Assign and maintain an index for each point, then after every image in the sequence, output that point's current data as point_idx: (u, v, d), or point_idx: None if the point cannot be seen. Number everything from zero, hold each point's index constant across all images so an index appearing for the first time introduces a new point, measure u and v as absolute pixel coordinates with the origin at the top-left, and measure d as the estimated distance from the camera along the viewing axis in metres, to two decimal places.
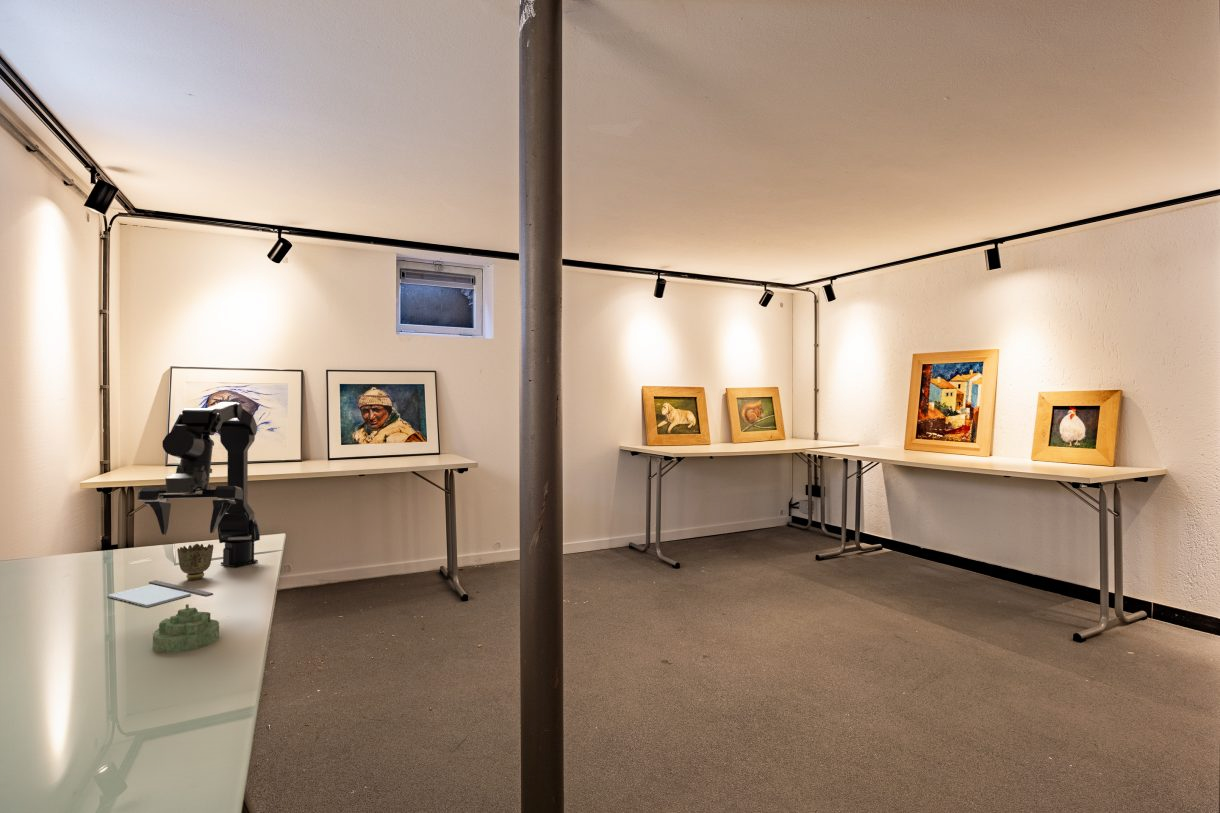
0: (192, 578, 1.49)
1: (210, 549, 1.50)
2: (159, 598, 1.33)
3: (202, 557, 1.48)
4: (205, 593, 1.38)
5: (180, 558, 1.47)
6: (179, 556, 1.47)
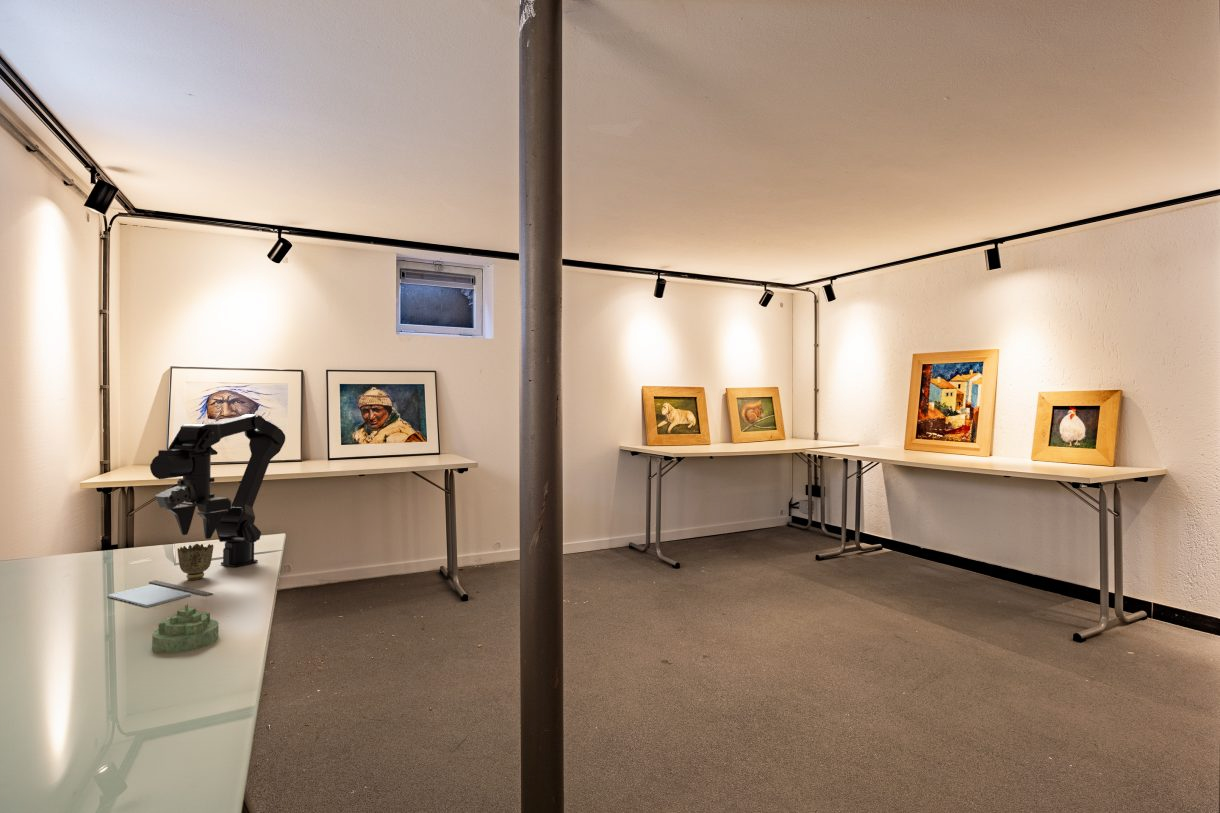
0: (192, 578, 1.49)
1: (210, 549, 1.50)
2: (159, 598, 1.33)
3: (202, 557, 1.48)
4: (205, 593, 1.38)
5: (180, 558, 1.47)
6: (179, 556, 1.47)
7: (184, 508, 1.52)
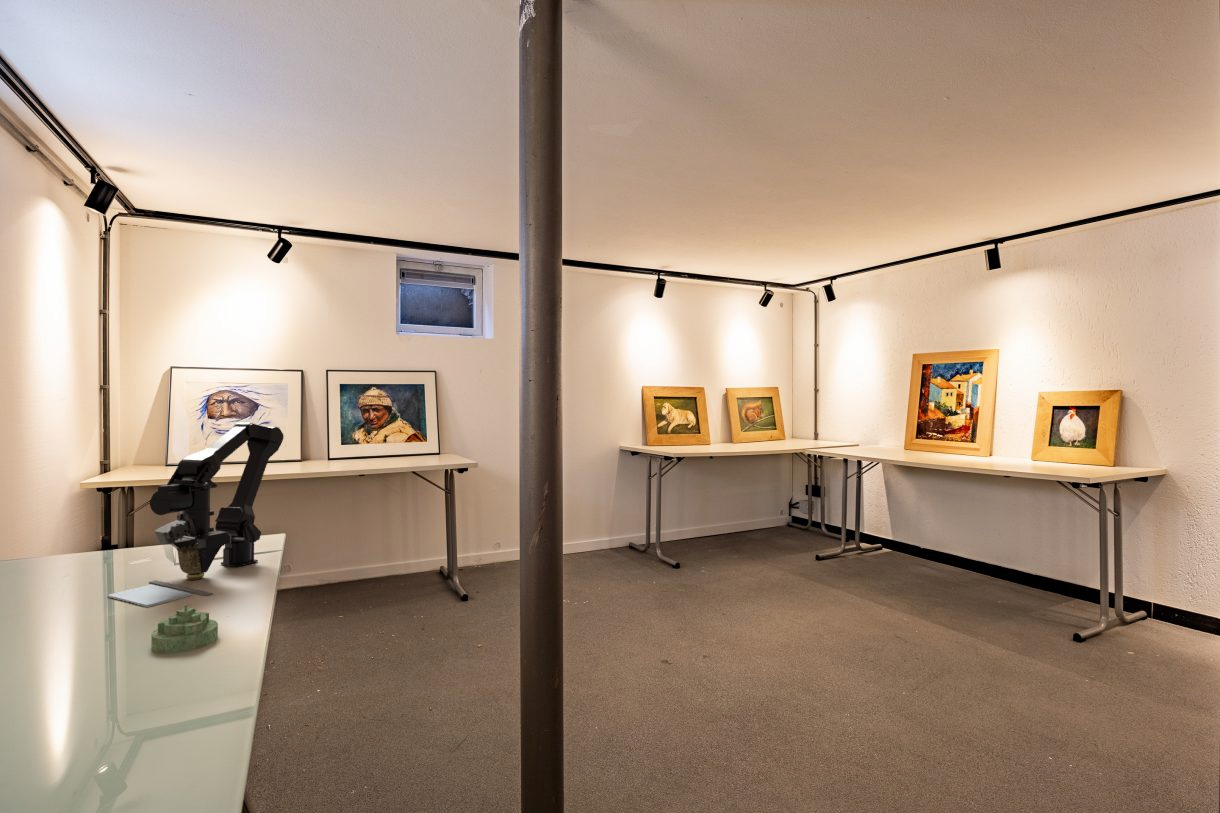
0: (192, 578, 1.49)
1: None
2: (159, 598, 1.33)
3: None
4: (205, 593, 1.38)
5: (180, 558, 1.47)
6: (179, 556, 1.47)
7: (186, 542, 1.52)
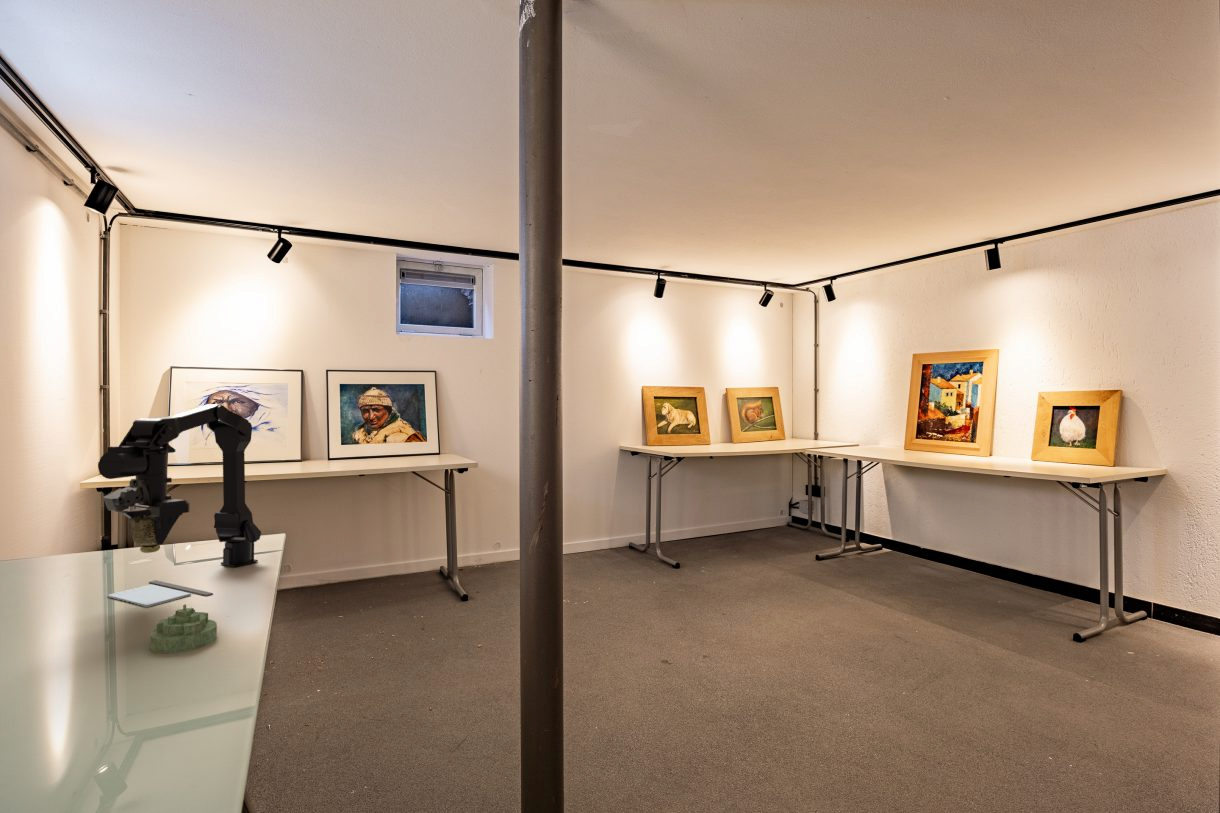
0: (146, 551, 1.35)
1: None
2: (159, 598, 1.33)
3: None
4: (205, 593, 1.38)
5: (132, 528, 1.33)
6: (131, 526, 1.33)
7: (141, 512, 1.38)
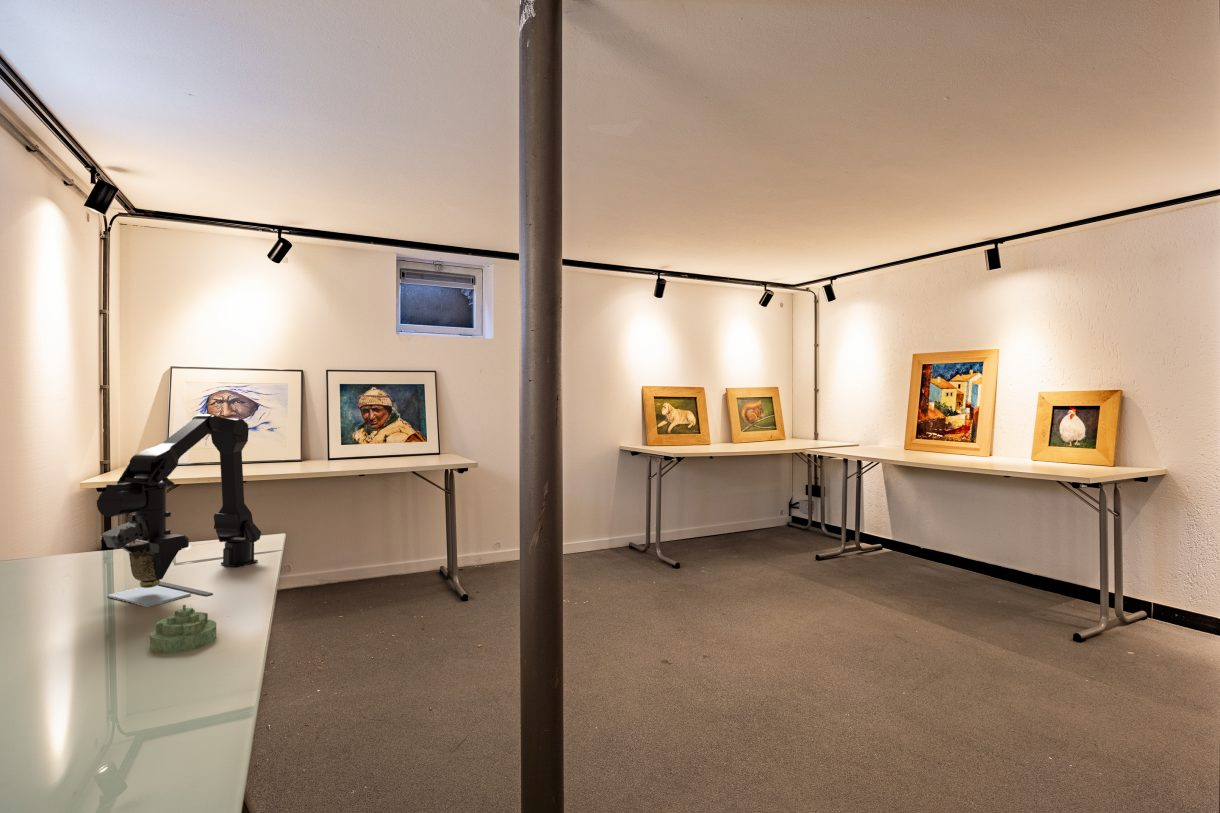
0: (146, 586, 1.35)
1: None
2: (159, 598, 1.33)
3: None
4: (205, 593, 1.38)
5: (132, 564, 1.33)
6: (131, 562, 1.33)
7: (140, 546, 1.38)
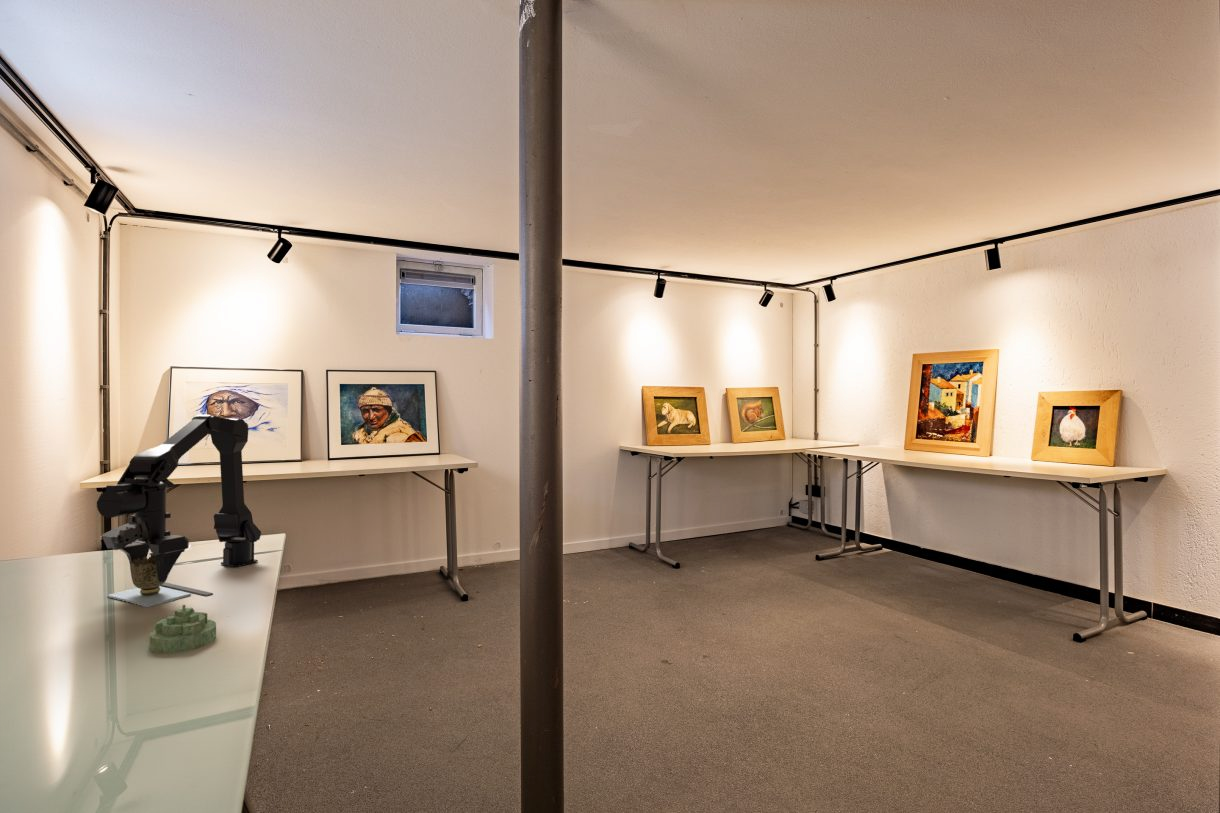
0: (146, 594, 1.35)
1: None
2: (159, 598, 1.33)
3: None
4: (205, 593, 1.38)
5: (132, 572, 1.33)
6: (131, 569, 1.33)
7: (137, 546, 1.39)
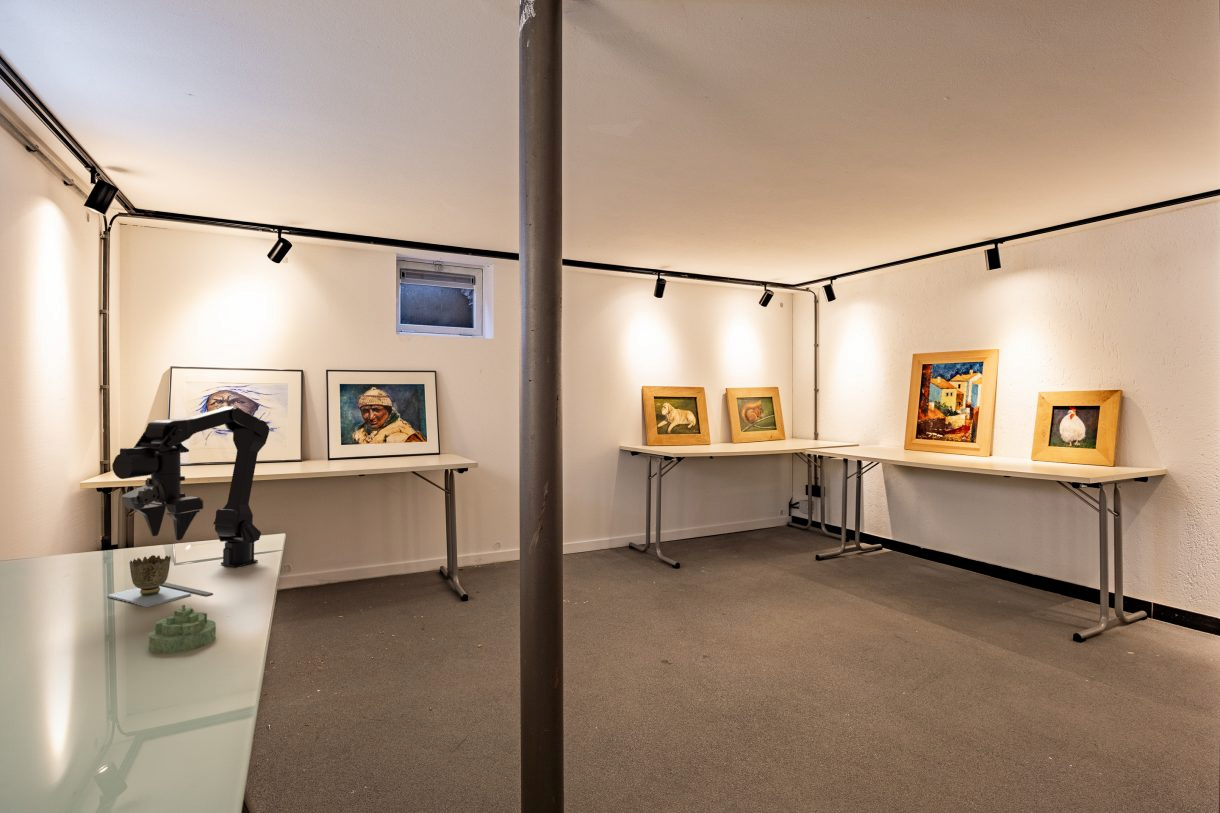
0: (146, 594, 1.35)
1: (166, 561, 1.36)
2: (159, 598, 1.33)
3: (157, 571, 1.34)
4: (205, 593, 1.38)
5: (132, 572, 1.33)
6: (131, 569, 1.33)
7: (154, 508, 1.46)
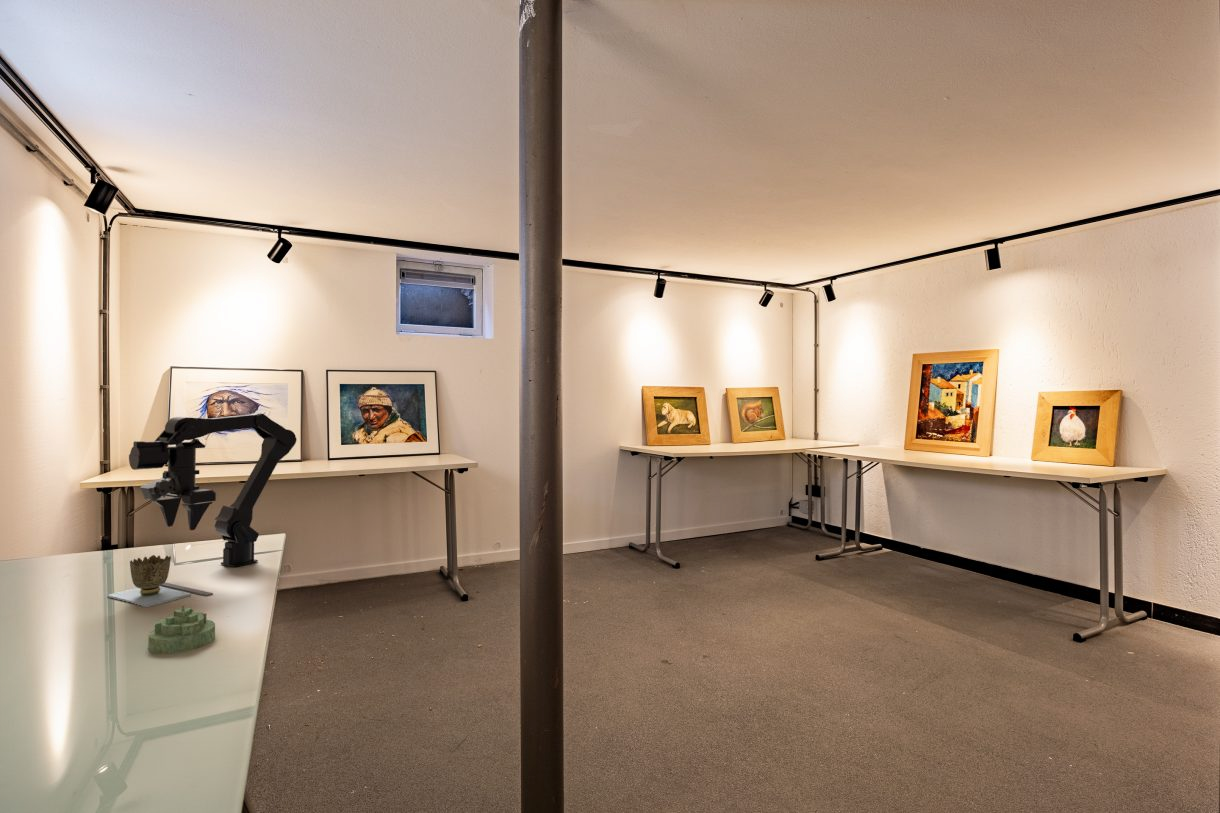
0: (146, 594, 1.35)
1: (166, 562, 1.36)
2: (159, 598, 1.33)
3: (157, 571, 1.34)
4: (205, 593, 1.38)
5: (132, 572, 1.33)
6: (131, 569, 1.33)
7: (169, 500, 1.55)
